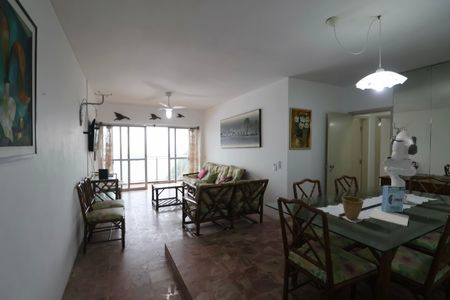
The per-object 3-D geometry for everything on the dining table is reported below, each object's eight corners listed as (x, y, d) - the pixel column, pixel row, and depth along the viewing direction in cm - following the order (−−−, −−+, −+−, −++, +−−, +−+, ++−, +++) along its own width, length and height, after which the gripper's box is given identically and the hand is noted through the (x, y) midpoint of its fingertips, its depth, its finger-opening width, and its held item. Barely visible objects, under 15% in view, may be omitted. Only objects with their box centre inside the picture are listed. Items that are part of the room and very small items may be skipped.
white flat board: (374, 209, 197) (375, 208, 197) (408, 216, 181) (409, 215, 181) (369, 217, 177) (369, 216, 177) (406, 226, 160) (406, 225, 160)
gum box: (385, 212, 187) (388, 186, 186) (380, 210, 192) (382, 185, 191) (402, 211, 191) (405, 186, 190) (396, 210, 196) (399, 185, 195)
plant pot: (342, 213, 184) (344, 195, 182) (363, 218, 174) (364, 199, 173) (339, 218, 172) (340, 199, 171) (360, 223, 163) (362, 203, 161)
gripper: (412, 158, 189) (411, 174, 190) (384, 156, 204) (383, 170, 204) (412, 159, 185) (410, 174, 186) (383, 156, 199) (382, 171, 200)
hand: (396, 172), depth 195 cm, fingers open, 8 cm apart
